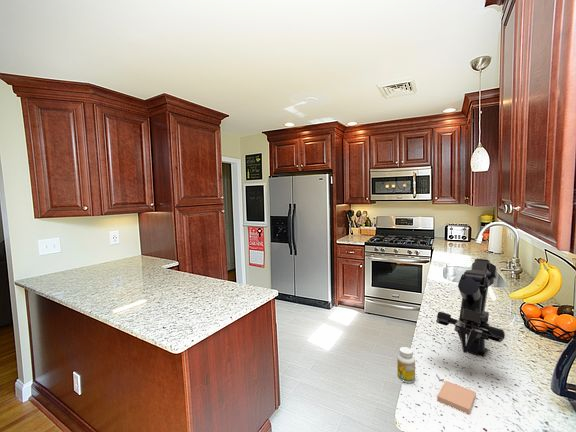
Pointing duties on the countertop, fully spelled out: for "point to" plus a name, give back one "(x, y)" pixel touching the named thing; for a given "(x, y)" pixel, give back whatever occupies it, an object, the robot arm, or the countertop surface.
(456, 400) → the tile
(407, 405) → the countertop surface
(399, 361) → the supplement bottle
